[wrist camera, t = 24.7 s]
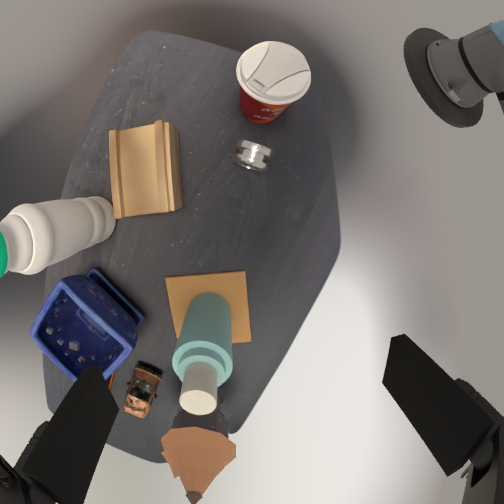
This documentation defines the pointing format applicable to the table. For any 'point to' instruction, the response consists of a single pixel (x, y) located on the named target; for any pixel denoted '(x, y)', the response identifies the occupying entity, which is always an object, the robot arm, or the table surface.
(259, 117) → the paper cup
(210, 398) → the plastic bottle
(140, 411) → the toy car
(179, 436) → the model tower
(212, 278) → the cork mat
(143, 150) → the birch block
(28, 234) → the water bottle
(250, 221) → the table surface
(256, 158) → the metal grooved wheel
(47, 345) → the flower pot
